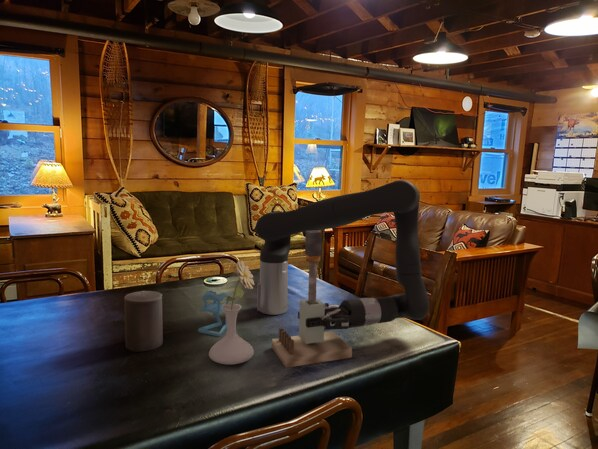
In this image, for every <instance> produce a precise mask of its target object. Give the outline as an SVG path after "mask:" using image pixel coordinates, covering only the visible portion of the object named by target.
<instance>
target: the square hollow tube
mask: <svg viewBox="0 0 598 449" xmlns="http://www.w3.org/2000/svg"><path fill="white" fill-rule="evenodd" d="M298 312H299V319H298V320H299V321H298V324H299V325H298V336H299V337H300V338H301V339H302V340H303V341H304V343H305V344H309V343H316V342H324V332H325V327H320V326H317V327H309V328H307V327H306V319H307V318H316V317H320V319H321V317H322V316H324V314H325V304H324V303H323V302H322V301H321V300H320V299H319V298H316V304H311V305H309V304H308V299H301V300H299V311H298Z"/></svg>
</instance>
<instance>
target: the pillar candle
mask: <svg viewBox="0 0 598 449" xmlns="http://www.w3.org/2000/svg"><path fill="white" fill-rule="evenodd" d="M123 302H124V338H125V346H124V347H125V348H126V349H127V350H128V351H131V352H135V353H138V352H148V351H153V350H156V349H158V348H159V347H161V346H162V345H163V342H164V338H163V337H164V334H163V333H164V332H163V328H164V327H163V293H160V292H158V291H154V290H153V291H151V290H141V291H135V292H134V291H133V292H131V293H127V294H126V295H125V296H124V300H123Z"/></svg>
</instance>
